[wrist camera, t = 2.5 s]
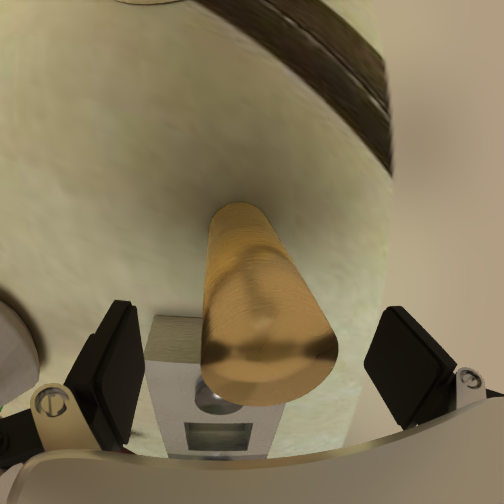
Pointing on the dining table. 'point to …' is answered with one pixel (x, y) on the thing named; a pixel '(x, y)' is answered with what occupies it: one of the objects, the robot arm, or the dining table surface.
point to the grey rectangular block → (199, 401)
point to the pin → (259, 316)
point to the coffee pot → (16, 356)
